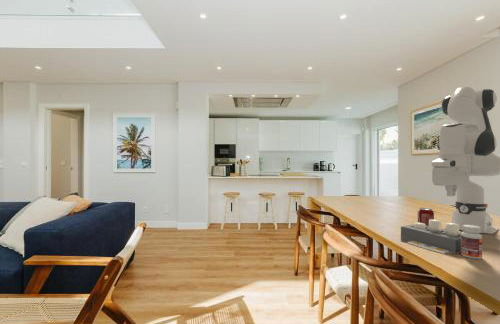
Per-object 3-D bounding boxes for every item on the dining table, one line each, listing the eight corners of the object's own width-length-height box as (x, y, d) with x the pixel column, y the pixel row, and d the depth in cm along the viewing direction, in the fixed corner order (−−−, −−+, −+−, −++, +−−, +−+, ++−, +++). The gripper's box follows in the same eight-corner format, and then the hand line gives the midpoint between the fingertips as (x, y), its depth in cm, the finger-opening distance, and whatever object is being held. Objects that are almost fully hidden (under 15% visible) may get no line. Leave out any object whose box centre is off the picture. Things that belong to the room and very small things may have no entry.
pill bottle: (483, 260, 94) (484, 229, 94) (462, 257, 98) (462, 226, 98) (480, 255, 100) (480, 225, 100) (459, 252, 103) (460, 223, 103)
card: (413, 242, 115) (413, 240, 115) (449, 252, 103) (449, 250, 103) (407, 243, 114) (407, 241, 114) (443, 253, 101) (443, 251, 101)
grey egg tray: (418, 234, 127) (418, 223, 127) (473, 249, 107) (473, 235, 107) (400, 238, 121) (400, 226, 121) (455, 253, 101) (455, 239, 101)
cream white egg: (432, 232, 117) (432, 219, 117) (443, 235, 113) (443, 221, 113) (426, 233, 115) (426, 219, 115) (437, 236, 111) (437, 222, 111)
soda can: (436, 235, 127) (436, 210, 127) (420, 234, 128) (421, 209, 128) (429, 231, 133) (430, 207, 133) (415, 230, 135) (415, 207, 135)
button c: (448, 236, 111) (449, 222, 111) (460, 239, 107) (461, 224, 107) (442, 237, 109) (443, 223, 109) (454, 240, 105) (455, 225, 105)
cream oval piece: (417, 234, 123) (417, 222, 123) (427, 237, 119) (427, 224, 119) (411, 236, 121) (411, 223, 121) (421, 238, 117) (421, 225, 117)
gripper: (457, 162, 115) (456, 194, 116) (429, 162, 107) (428, 196, 107) (474, 162, 110) (473, 195, 110) (446, 162, 101) (445, 198, 101)
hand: (451, 196), depth 108 cm, fingers closed
